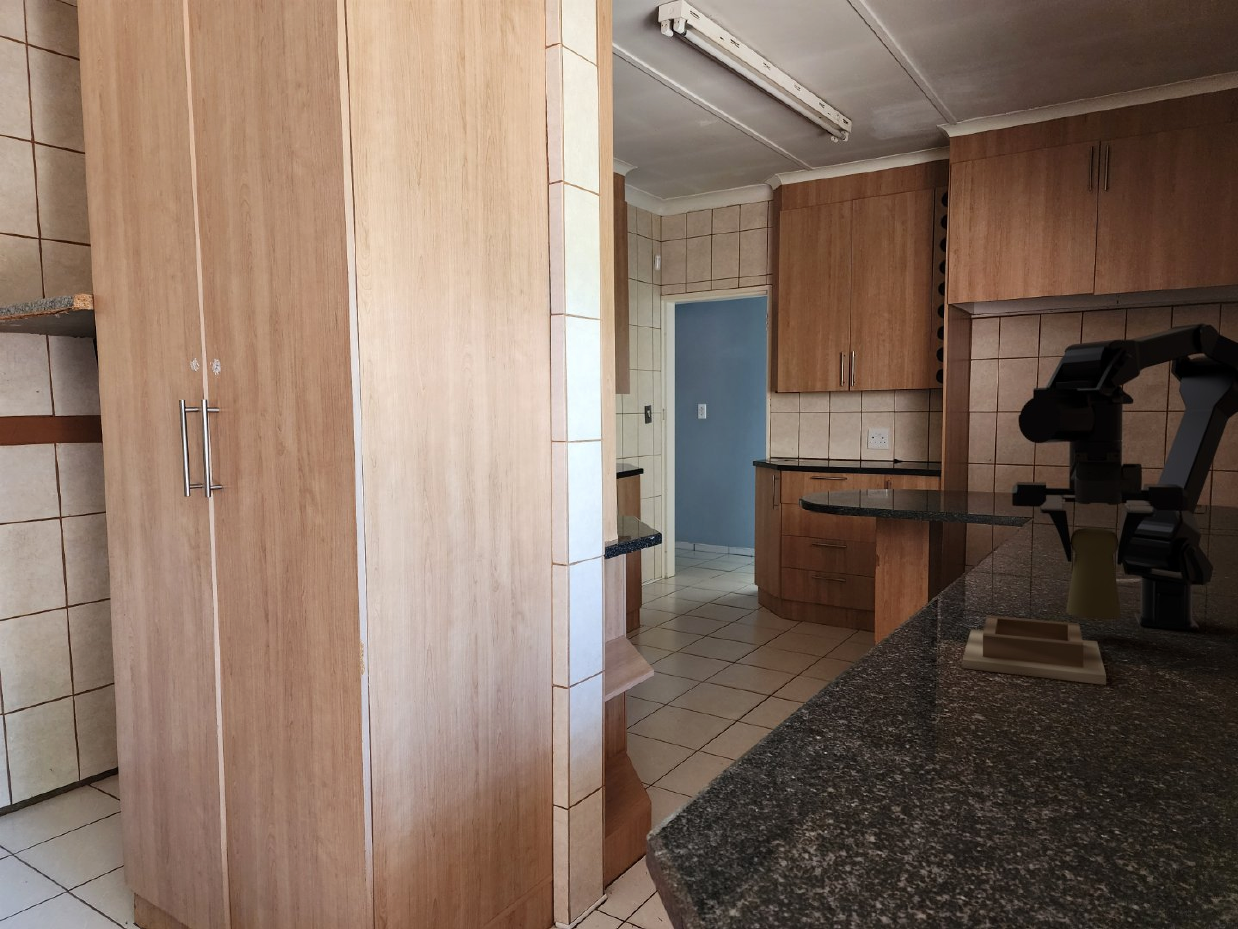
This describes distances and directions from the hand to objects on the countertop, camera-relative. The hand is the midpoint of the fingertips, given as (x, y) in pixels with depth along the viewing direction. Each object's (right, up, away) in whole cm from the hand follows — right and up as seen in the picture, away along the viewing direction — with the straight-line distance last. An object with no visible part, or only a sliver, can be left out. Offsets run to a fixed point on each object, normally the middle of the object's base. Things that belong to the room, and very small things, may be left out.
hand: (1093, 562), depth 100 cm
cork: (0, -7, 0) cm, 7 cm away
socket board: (-12, -10, -8) cm, 17 cm away
